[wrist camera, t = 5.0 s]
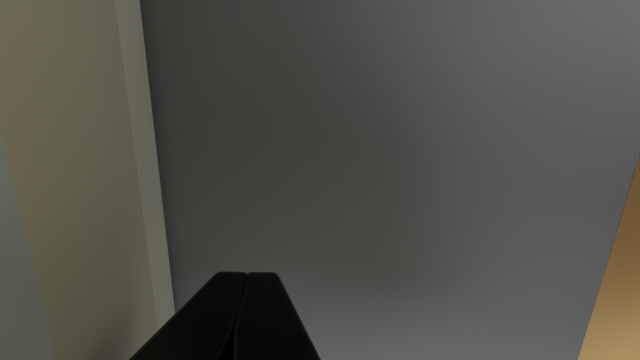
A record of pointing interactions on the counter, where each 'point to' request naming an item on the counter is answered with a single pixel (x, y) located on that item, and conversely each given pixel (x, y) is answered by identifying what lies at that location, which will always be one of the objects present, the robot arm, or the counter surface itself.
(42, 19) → the panel
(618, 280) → the counter surface
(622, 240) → the counter surface
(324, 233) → the board
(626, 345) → the counter surface
